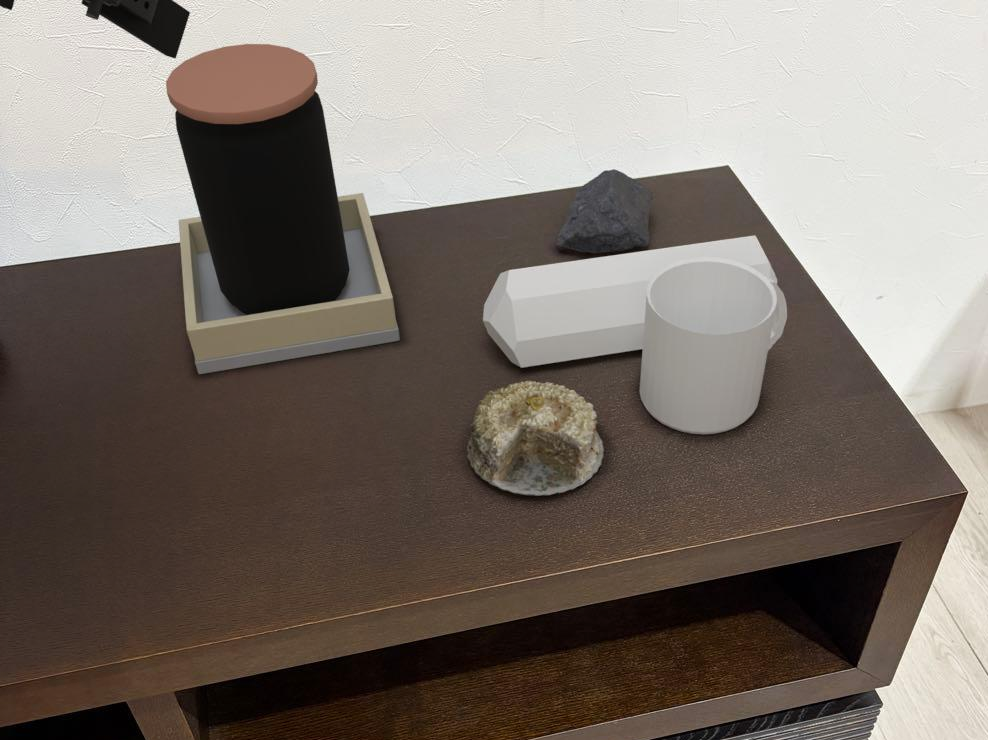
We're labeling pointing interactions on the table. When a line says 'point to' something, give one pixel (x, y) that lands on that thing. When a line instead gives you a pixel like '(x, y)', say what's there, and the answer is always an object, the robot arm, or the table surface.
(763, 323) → the mug
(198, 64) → the coffee jar
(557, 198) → the table surface
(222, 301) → the shallow square crate
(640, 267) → the crystal
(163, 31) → the robot arm
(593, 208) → the rock
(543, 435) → the cake
